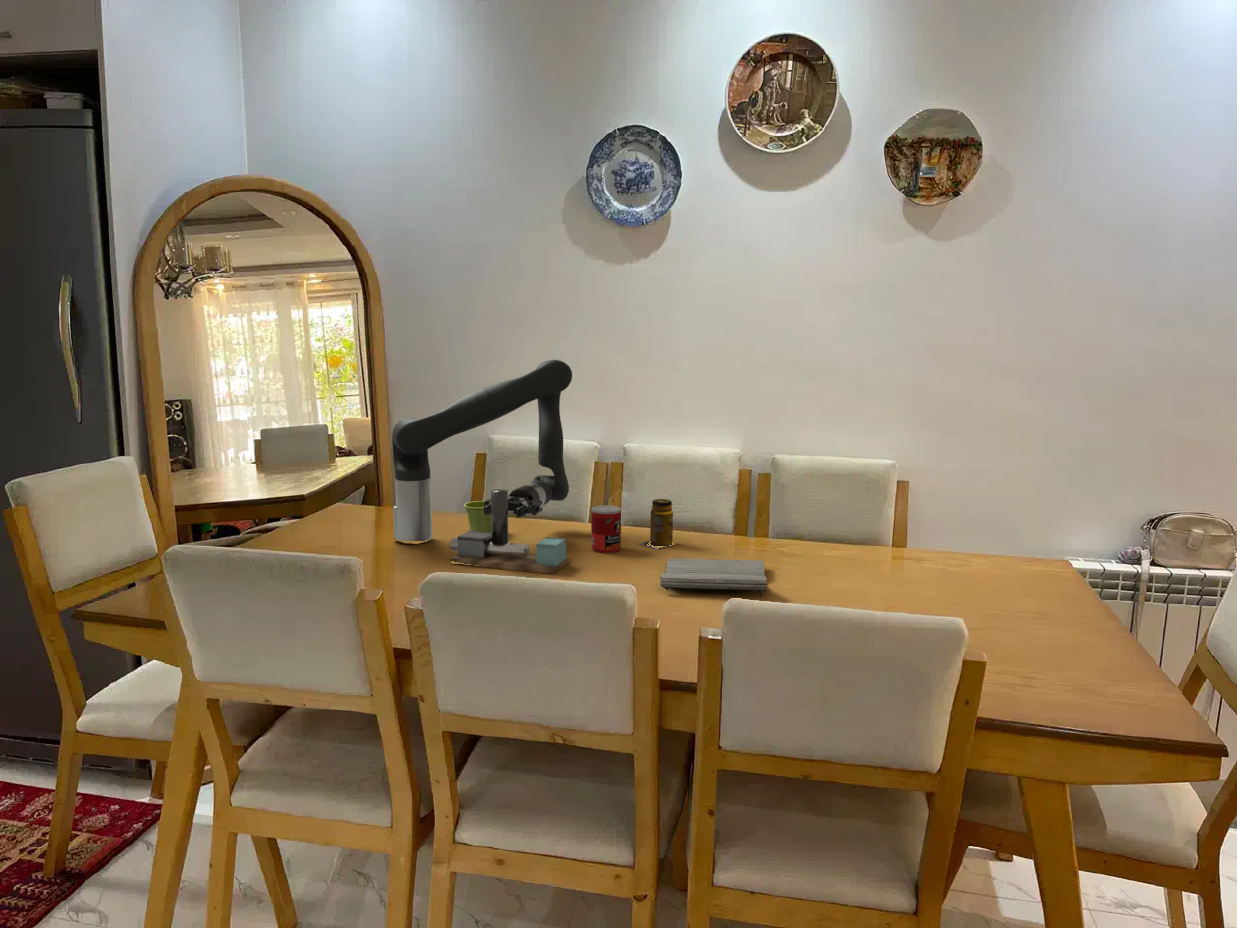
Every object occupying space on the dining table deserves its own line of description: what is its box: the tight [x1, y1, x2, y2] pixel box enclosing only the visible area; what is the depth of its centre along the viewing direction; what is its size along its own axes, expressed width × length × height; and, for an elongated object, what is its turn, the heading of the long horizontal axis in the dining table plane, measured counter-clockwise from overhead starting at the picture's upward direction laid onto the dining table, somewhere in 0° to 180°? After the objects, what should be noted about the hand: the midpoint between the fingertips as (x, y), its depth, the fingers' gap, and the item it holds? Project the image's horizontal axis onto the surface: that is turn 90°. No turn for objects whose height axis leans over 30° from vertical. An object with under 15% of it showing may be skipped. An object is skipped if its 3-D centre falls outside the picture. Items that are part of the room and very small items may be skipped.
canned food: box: [590, 504, 622, 554], centre depth 215 cm, size 8×8×11 cm
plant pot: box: [463, 500, 492, 533], centre depth 230 cm, size 9×9×9 cm
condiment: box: [638, 498, 674, 550], centre depth 220 cm, size 7×8×12 cm
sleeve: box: [456, 530, 492, 559], centre depth 204 cm, size 7×6×5 cm
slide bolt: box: [449, 488, 530, 558], centre depth 202 cm, size 20×4×16 cm, turn 73°
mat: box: [659, 557, 767, 599], centre depth 189 cm, size 23×24×5 cm
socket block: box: [535, 536, 567, 566], centre depth 198 cm, size 5×7×5 cm
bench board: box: [450, 552, 569, 575], centre depth 202 cm, size 27×10×2 cm, turn 73°
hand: (501, 512), depth 202 cm, fingers open, 8 cm apart
